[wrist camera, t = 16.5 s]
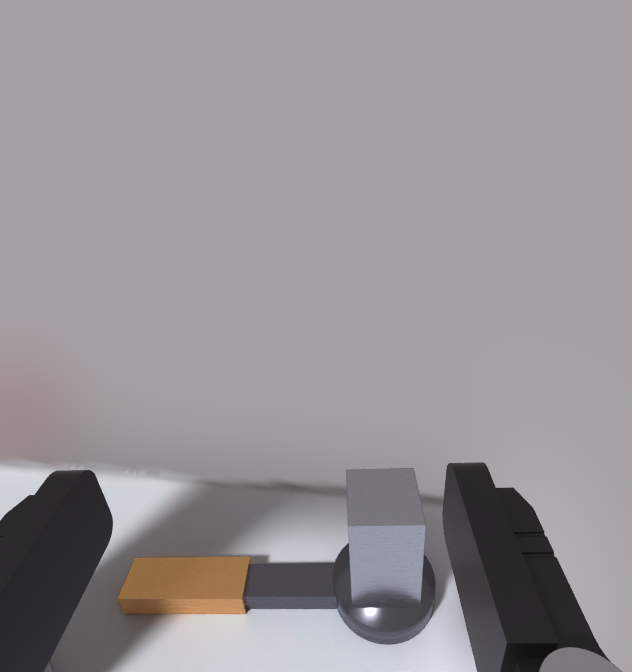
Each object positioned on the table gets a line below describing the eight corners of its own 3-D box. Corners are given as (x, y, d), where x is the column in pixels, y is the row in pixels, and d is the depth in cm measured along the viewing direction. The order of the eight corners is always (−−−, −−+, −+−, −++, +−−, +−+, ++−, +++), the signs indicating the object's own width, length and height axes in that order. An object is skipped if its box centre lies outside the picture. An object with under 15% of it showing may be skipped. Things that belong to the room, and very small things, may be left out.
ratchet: (112, 643, 34) (89, 600, 32) (150, 549, 41) (134, 508, 39) (443, 644, 33) (448, 599, 30) (424, 547, 40) (427, 503, 37)
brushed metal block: (352, 608, 34) (347, 526, 29) (350, 548, 38) (346, 469, 34) (420, 607, 33) (425, 525, 29) (410, 547, 38) (413, 468, 33)
